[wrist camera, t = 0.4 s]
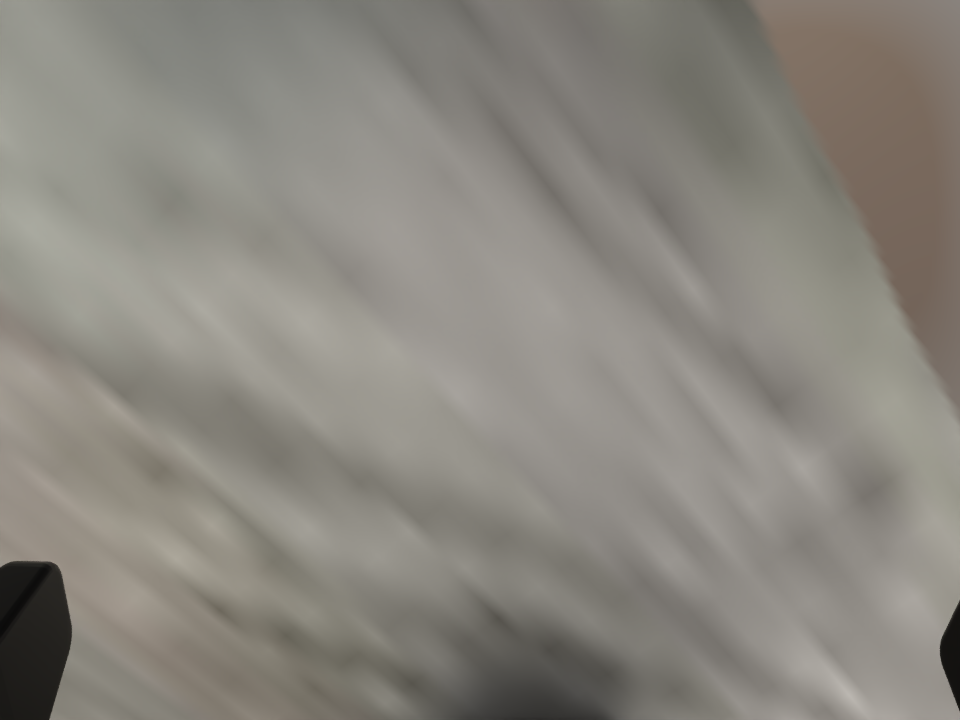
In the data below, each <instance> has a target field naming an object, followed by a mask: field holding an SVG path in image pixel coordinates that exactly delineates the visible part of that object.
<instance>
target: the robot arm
mask: <svg viewBox="0 0 960 720" xmlns="http://www.w3.org/2000/svg"><path fill="white" fill-rule="evenodd" d="M71 638H72V625H71V619H70V614H69V609H68V604H67V599H66V594H65V589H64V584H63V578H62V574H61V571H60V569H59V567H58V566H57V565H56V564H54V563H52V562H41V561H13V562H9V563H7V564H5V565H3V566H2V567H0V720H49V719H50V715H51V712H52V709H53V705H54V702H55V698H56V695H57V692H58V688H59V685H60V681H61V678H62V674H63V671H64V668H65V664H66V661H67V657H68V654H69V650H70V645H71ZM940 657H941V662H942V666H943V669H944V671H945V674H946V677H947V679H948V682H949V684H950V687H951V690H952V692H953V695H954V698H955V700H956V703H957V705H958V708H959V711H960V601H959V603H958V605H957V607H956V609H955V611H954V613H953V615H952V618H951V620H950V622H949V624H948V626H947V628H946V630H945V632H944V634H943V636H942V639H941V643H940Z"/></svg>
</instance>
